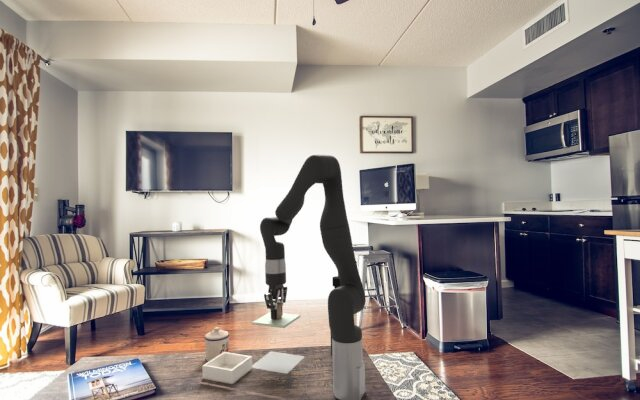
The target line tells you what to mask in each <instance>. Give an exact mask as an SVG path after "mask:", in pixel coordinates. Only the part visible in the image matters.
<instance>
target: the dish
mask: <svg viewBox="0 0 640 400" xmlns="http://www.w3.org/2000/svg"><path fill="white" fill-rule="evenodd" d="M252 365H253V356H252V355H247V354H242V353H240V354H239V353H233V352H230V351H229V352H223V353H222V354H220V355H218V356H217V357H215V358H214V359H212V360H210V361H209V362H208V361H206V363H204V364H203V365H202V369H201V371H202V379H203V380H208V381H213V382H218V383H221V384H222V383H223V384H227V385H234V384H235V383H236V382H238V381H239V380H240V379H242V378H243V377H244V376H245V375H246V374H247V373H249V372H250V371H252V370H253V369H254V368H252Z"/></svg>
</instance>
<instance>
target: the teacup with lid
mask: <svg viewBox="0 0 640 400" xmlns="http://www.w3.org/2000/svg"><path fill="white" fill-rule="evenodd" d="M229 336H230V334H229V331H227V330H223V329H220V327H219V326H217V327H214V328H213V330H211V331H209V332H207V333H206V334H205V335H204V340H205V360H206V362H209V361H210V360H212V359H214V358H215V357H217V356H218V355H220V354H222V353H223V352H229V353H230V345H229V344H230V342H229V341H230V339H229Z"/></svg>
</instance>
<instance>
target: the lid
mask: <svg viewBox="0 0 640 400" xmlns="http://www.w3.org/2000/svg"><path fill="white" fill-rule="evenodd" d="M282 313H283V315H282ZM299 318H301V314H294V313H286V312H285V313H284V312H283V309H282V310H281V304H277V319H276V320H273V319H271V311H269V312H268V313H266V314H265V315H262V316H261V317H259V318H257V319H255V320H253V321H252V322H251V324H252V325H253V326H263V327H269V328H279V329H280V328H281V329H285V328H287V327H288V326H290V325H291V324H292V323H294V322H295V321H297V320H298V319H299Z"/></svg>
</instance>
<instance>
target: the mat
mask: <svg viewBox="0 0 640 400" xmlns="http://www.w3.org/2000/svg"><path fill="white" fill-rule="evenodd" d="M305 357H306V356H304V355H298V354H293V353H292V354H291V353H286V352H285V353H283V352H280V351H279V352H277V351H269V352H267V353H266V354H265V355H264V356H263V357H261V358H260V359H259V360H257V361H256V362H255V363H252V368H253V369H256V370H260V371H261V370H262V371H267V372H268V371H269V372H272V373H273V372H274V373H281V374H285V375H287V374H289V373H290V372H291V371H292V370H293V369H294V368H295V367H296V366H297V365H298V364H299V363H300V362H301V361H303V359H304V358H305Z"/></svg>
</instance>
